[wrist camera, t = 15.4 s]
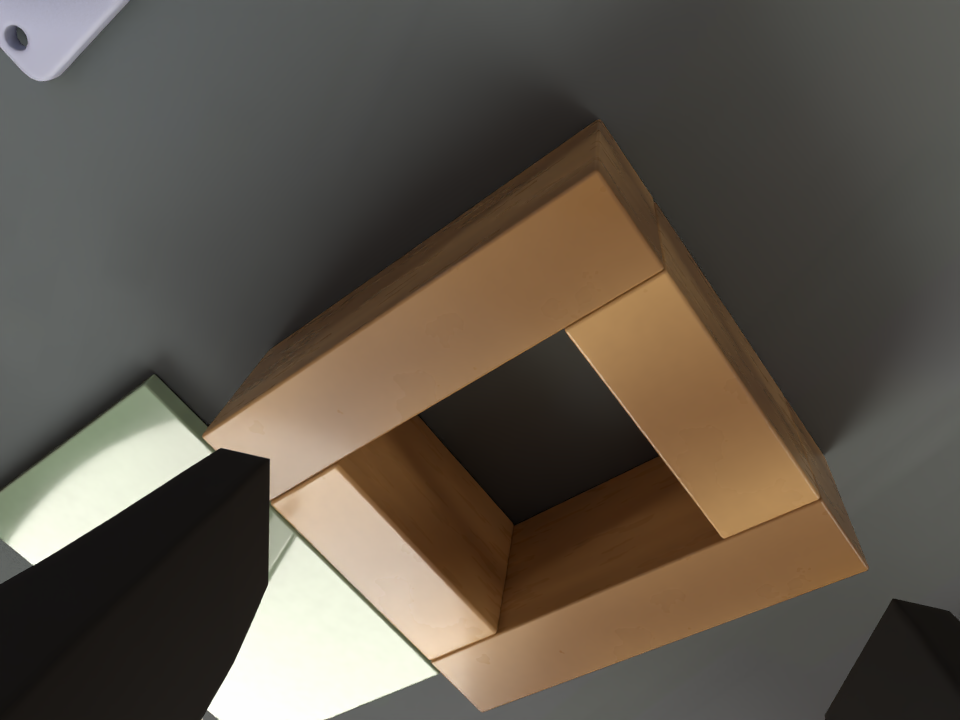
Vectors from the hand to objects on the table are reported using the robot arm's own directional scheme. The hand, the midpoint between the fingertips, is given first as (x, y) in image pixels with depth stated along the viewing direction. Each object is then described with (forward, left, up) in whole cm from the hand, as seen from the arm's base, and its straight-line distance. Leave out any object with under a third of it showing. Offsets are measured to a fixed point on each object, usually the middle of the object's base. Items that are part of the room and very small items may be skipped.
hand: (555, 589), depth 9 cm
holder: (+3, -3, -10) cm, 11 cm away
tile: (+3, -16, -10) cm, 19 cm away
